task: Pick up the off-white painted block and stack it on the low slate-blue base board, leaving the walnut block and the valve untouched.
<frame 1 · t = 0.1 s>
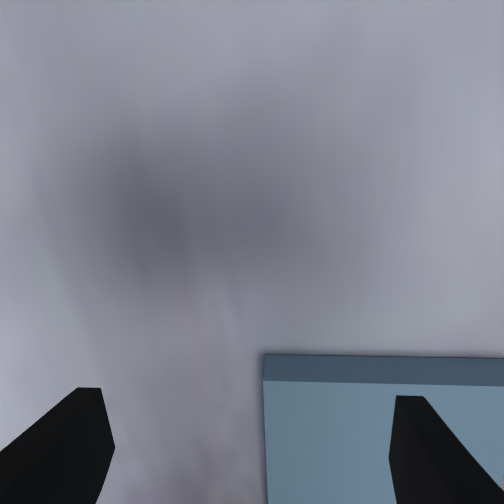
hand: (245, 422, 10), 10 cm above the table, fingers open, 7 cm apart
base board: (374, 442, 24), on the table
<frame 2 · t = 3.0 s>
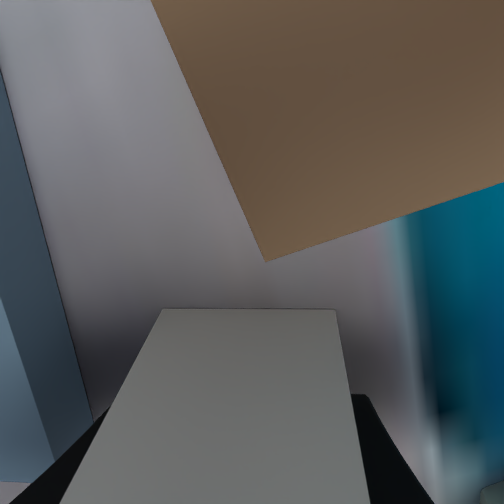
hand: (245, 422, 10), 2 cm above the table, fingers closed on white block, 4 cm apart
walnut block: (331, 62, 8), on the table
white block: (251, 377, 12), on the table, touching gripper
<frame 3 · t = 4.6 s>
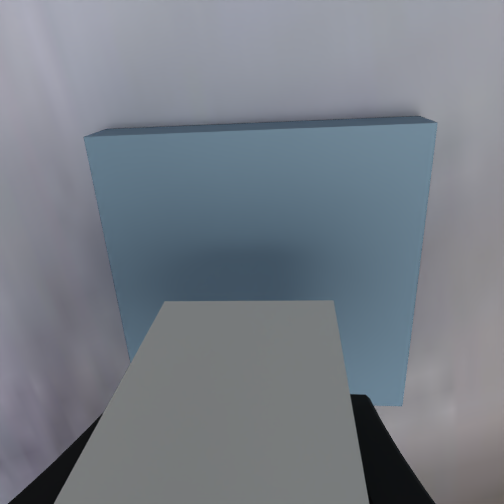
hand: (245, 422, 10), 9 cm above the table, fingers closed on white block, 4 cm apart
base board: (263, 264, 18), on the table
white block: (252, 369, 12), point 7 cm above the table, touching gripper
when the fingers open (5 cm above the table, at t = 6.3 s): white block stays where it is, resting on base board.
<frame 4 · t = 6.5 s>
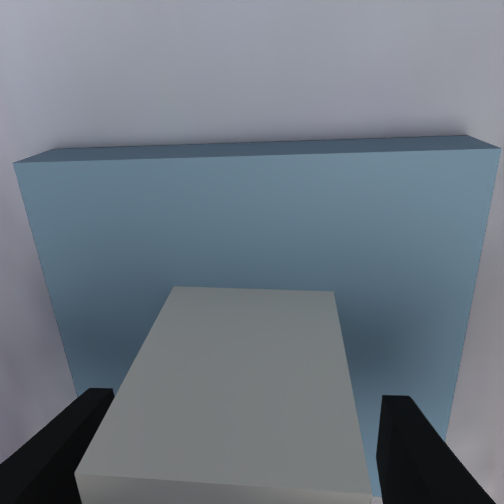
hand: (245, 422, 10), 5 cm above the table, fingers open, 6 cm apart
base board: (258, 319, 14), on the table
white block: (253, 354, 13), point 2 cm above the table, touching base board
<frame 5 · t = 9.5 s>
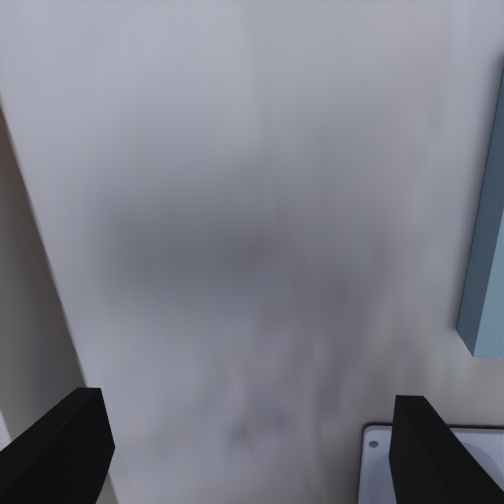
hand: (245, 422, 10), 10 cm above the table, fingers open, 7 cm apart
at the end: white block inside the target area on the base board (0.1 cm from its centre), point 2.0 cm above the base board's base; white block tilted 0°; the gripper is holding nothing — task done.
